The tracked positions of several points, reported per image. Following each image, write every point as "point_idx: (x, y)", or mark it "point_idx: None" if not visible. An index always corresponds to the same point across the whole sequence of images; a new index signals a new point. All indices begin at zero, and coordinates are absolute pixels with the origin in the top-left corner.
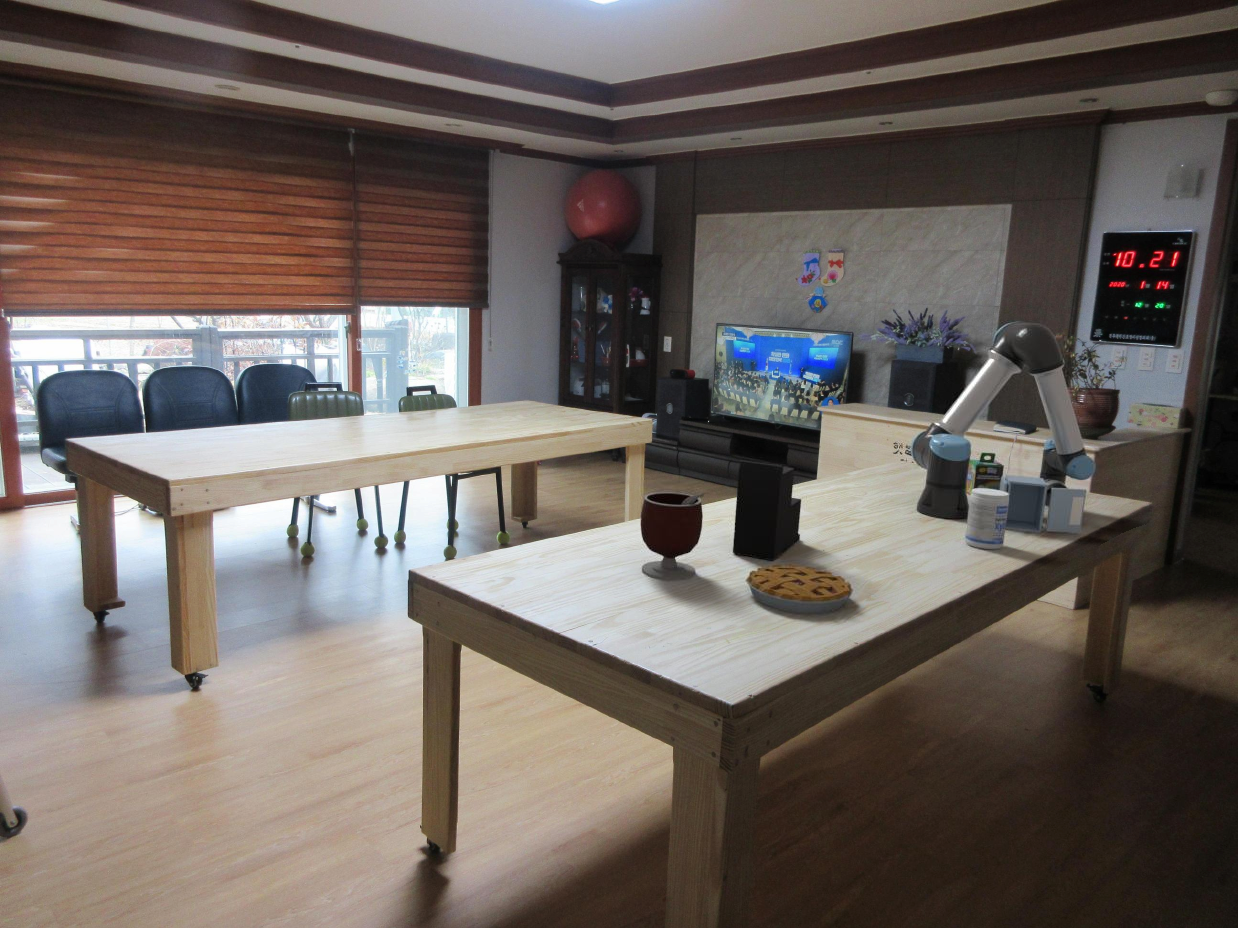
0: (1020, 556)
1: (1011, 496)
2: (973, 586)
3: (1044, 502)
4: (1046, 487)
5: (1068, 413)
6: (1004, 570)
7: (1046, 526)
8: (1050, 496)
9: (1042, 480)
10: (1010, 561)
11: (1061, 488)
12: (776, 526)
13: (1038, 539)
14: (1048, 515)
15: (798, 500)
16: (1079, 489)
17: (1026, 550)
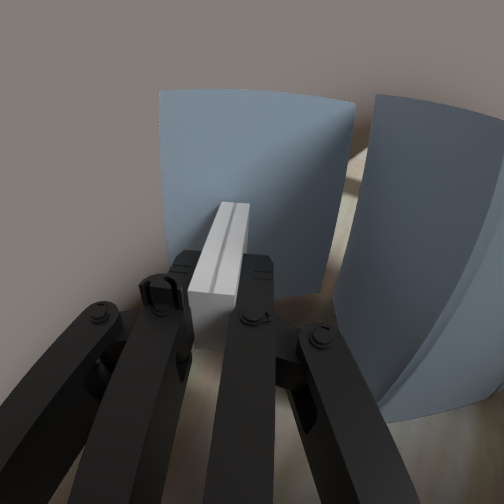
0: (348, 182)
1: None
2: (364, 152)
3: (365, 180)
4: (377, 107)
5: None
6: (353, 163)
7: (321, 276)
8: (349, 147)
9: (448, 107)
10: (355, 174)
11: (308, 95)
12: None
13: (334, 242)
14: (329, 232)
15: None
16: (204, 89)
17: (346, 195)
